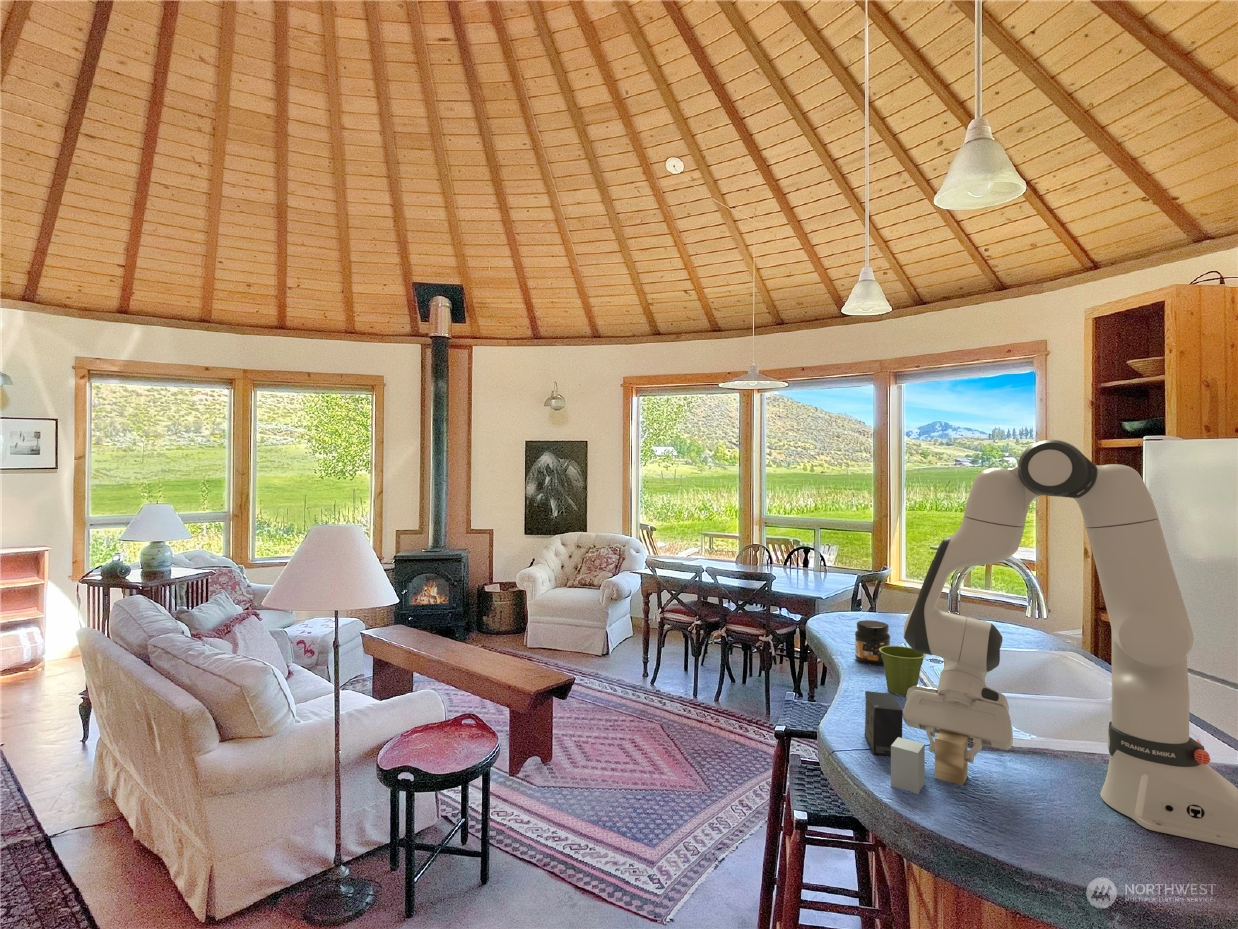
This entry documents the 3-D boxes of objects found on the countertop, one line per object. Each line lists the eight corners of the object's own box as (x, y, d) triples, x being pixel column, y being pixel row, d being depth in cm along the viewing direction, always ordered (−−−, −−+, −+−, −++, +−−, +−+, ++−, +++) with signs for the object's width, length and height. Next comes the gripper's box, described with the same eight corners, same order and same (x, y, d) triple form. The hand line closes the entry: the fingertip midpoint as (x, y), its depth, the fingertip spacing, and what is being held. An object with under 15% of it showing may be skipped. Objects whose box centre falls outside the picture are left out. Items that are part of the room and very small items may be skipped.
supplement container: (848, 660, 204) (848, 623, 204) (864, 654, 211) (864, 618, 211) (880, 668, 196) (881, 630, 196) (896, 661, 203) (896, 624, 203)
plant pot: (928, 702, 169) (928, 660, 169) (880, 697, 173) (880, 655, 173) (922, 687, 180) (922, 647, 180) (877, 682, 184) (877, 643, 184)
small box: (904, 758, 137) (904, 709, 137) (872, 755, 138) (872, 707, 138) (893, 737, 147) (893, 692, 147) (863, 735, 149) (863, 690, 149)
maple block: (967, 776, 129) (967, 736, 129) (962, 785, 125) (962, 745, 125) (940, 768, 132) (940, 730, 132) (934, 777, 128) (935, 738, 128)
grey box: (924, 784, 126) (924, 744, 126) (918, 794, 122) (918, 753, 122) (898, 776, 129) (898, 737, 129) (890, 786, 125) (890, 745, 125)
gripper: (906, 676, 141) (893, 735, 133) (1014, 697, 128) (1006, 764, 120) (911, 690, 144) (899, 749, 137) (1017, 713, 131) (1010, 778, 124)
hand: (950, 756), depth 128 cm, fingers closed on maple block, 5 cm apart
